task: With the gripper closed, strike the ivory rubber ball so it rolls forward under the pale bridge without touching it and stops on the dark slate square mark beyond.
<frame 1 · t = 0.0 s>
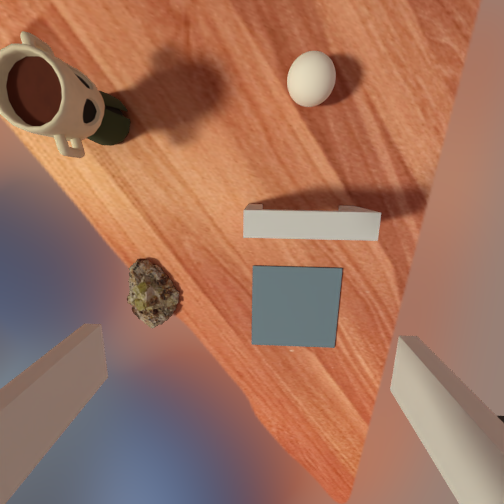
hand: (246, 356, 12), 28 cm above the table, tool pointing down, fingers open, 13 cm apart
mineral rock: (154, 289, 43), on the table
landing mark: (294, 307, 42), on the table
ball: (311, 80, 32), on the table
character mug: (109, 121, 37), on the table
bridge: (300, 215, 38), on the table
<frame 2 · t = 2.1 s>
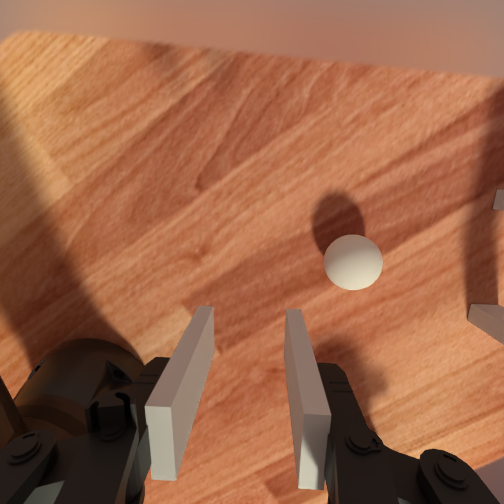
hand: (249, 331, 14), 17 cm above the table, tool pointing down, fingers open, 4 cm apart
ball: (352, 262, 27), on the table
bridge: (495, 259, 29), on the table
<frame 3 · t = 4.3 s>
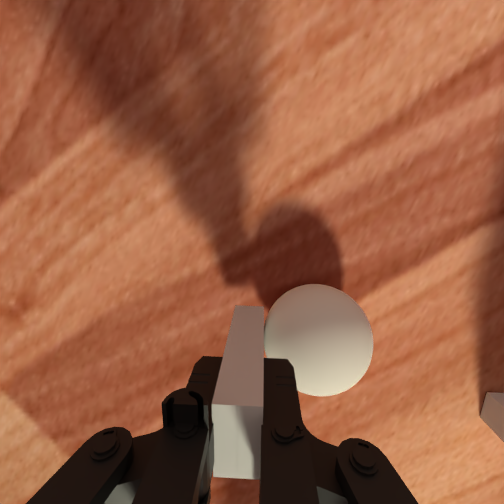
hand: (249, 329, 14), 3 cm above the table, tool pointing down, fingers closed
ball: (315, 336, 14), on the table
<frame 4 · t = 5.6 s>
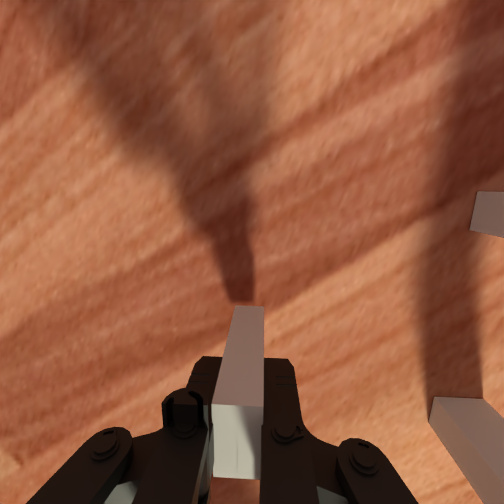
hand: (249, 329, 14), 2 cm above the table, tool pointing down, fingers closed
bridge: (477, 321, 16), on the table
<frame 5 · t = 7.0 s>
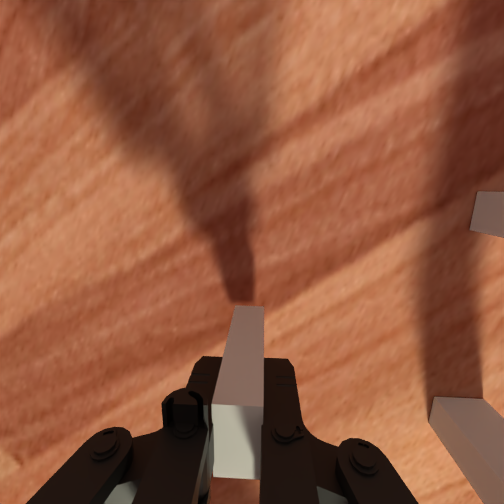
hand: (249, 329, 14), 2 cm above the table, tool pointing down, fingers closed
bridge: (477, 321, 16), on the table
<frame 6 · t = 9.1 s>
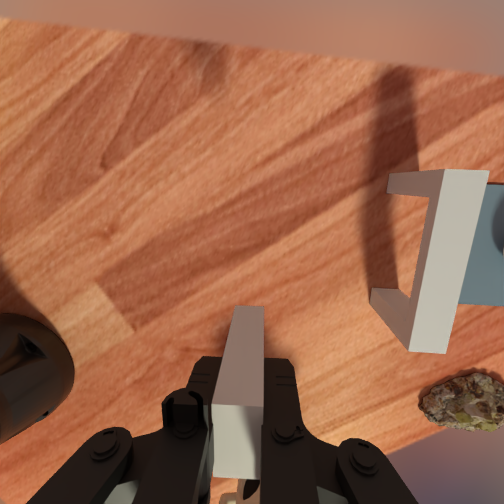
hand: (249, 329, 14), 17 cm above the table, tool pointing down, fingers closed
mineral rock: (459, 396, 34), on the table
character mug: (270, 425, 37), on the table
bridge: (392, 243, 30), on the table
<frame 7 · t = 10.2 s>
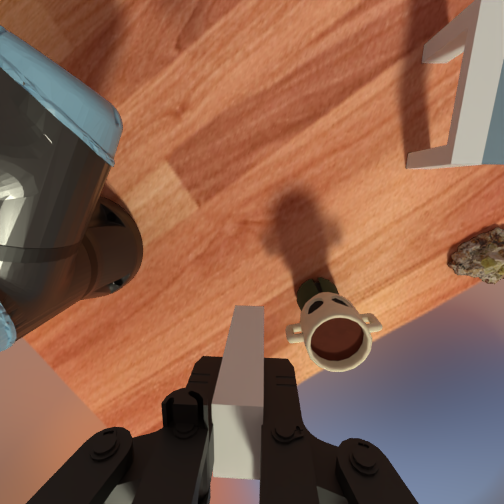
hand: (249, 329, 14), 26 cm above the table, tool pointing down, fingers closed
mineral rock: (482, 255, 40), on the table
character mug: (316, 295, 42), on the table
bridge: (426, 109, 35), on the table
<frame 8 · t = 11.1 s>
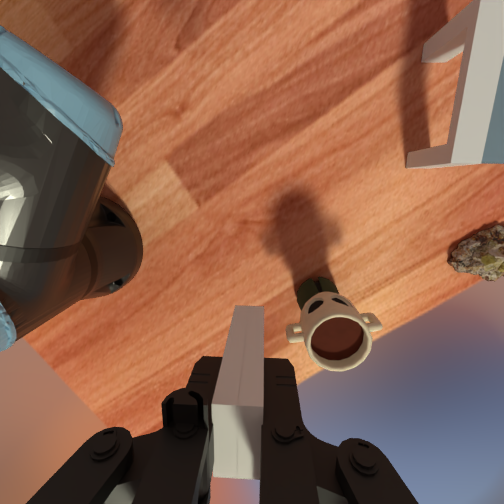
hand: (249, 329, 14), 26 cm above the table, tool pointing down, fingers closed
mineral rock: (482, 252, 40), on the table
character mug: (316, 294, 42), on the table
bridge: (426, 109, 35), on the table
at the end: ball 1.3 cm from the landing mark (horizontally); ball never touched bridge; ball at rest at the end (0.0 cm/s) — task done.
